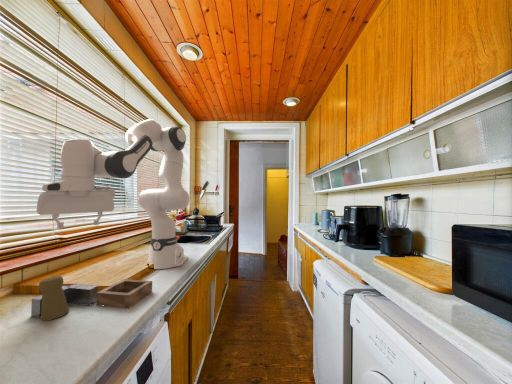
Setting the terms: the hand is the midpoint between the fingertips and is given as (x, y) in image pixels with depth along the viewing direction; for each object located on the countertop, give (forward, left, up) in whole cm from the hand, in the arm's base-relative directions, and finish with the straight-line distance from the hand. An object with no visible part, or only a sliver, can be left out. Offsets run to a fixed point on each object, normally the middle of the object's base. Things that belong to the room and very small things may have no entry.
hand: (79, 226), depth 73 cm
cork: (+10, +4, -25) cm, 27 cm away
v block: (+4, +1, -25) cm, 25 cm away
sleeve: (-3, +16, -25) cm, 30 cm away
